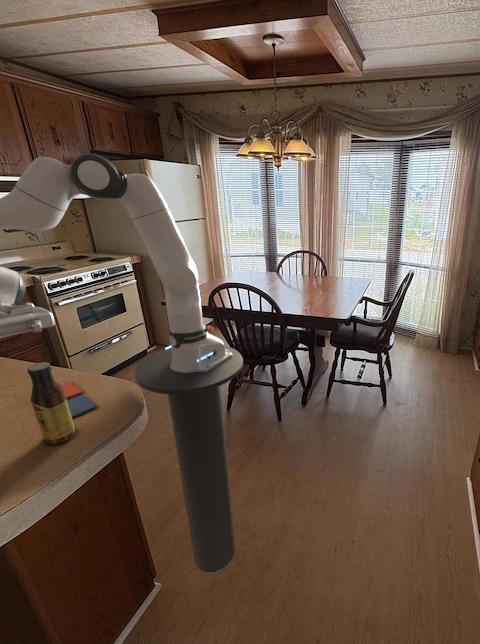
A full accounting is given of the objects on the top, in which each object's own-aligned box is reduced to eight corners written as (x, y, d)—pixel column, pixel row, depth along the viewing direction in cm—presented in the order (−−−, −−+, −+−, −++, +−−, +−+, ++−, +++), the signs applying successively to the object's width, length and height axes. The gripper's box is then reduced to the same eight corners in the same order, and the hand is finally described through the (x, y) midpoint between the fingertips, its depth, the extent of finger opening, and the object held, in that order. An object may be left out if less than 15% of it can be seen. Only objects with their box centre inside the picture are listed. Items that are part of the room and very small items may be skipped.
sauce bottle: (44, 435, 84) (19, 363, 76) (74, 425, 88) (54, 356, 80) (45, 450, 79) (19, 374, 72) (78, 439, 83) (56, 366, 75)
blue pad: (82, 396, 100) (81, 395, 100) (97, 407, 95) (96, 405, 95) (50, 409, 94) (49, 407, 93) (63, 421, 89) (63, 419, 89)
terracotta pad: (70, 383, 106) (69, 381, 106) (83, 393, 102) (82, 391, 101) (38, 394, 100) (38, 392, 100) (51, 405, 95) (50, 403, 95)
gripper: (-71, 320, 78) (-54, 335, 71) (38, 301, 94) (60, 312, 87) (-60, 345, 80) (-43, 362, 73) (44, 322, 96) (66, 334, 89)
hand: (13, 334), depth 80 cm, fingers open, 8 cm apart
